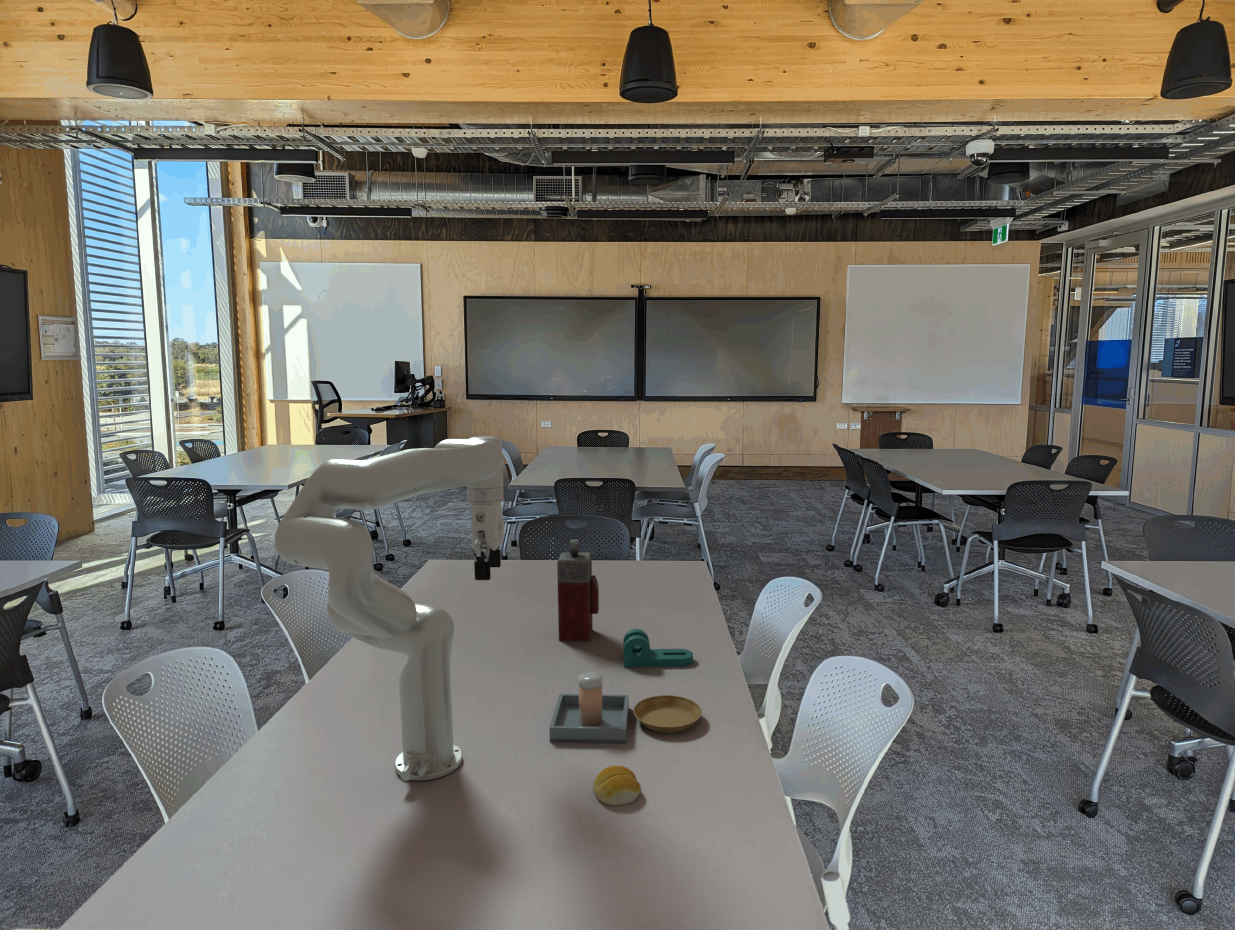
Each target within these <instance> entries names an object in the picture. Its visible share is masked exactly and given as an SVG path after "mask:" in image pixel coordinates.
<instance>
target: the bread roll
mask: <svg viewBox="0 0 1235 930" xmlns="http://www.w3.org/2000/svg"><path fill="white" fill-rule="evenodd" d="M592 788H593V792H594V793H595V796H596V798H597V799H598V800H599V801H600V802H601V803H603V804H606V805H609V806H625V805H628V804H631V803H634V801H636V799H637V798H638V796H640V794H641V791H642V789H641V784H640V782H639V781H638V780H637V776H636V773H634V772H633V771H632V770H631V769H630V768H629V767H626V766H624V765H610V766H609V765H608V766H607V767H605V768H603V769H602V770H601V771H600V772H599V773H598V774H597V775H596V777H595V779H594V781H593V787H592Z"/></svg>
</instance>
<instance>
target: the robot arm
mask: <svg viewBox="0 0 1235 930" xmlns="http://www.w3.org/2000/svg"><path fill="white" fill-rule="evenodd" d="M503 457H504V456H503V443H502V440H501V439H500V438H499V437H496V436H493V435H491V436H490V435H479V436H473V437H469V438H447V439H444V440H441V441H440V442H438V443H437V444H436V445H435V446H434V448H433V447H432V448H431V447H430V448H427V447H423V448H422V447H421V448H420V447H419V448H410V449H403V450H401V451H397V452H393V453H389V454H384V455H381V456H377V457H373V458H368V459H361V460H360V459H342V458H341V459H340V458H332V459H328V460H325V461H324V462H323V463H321V464H320V465H319V466H318V467H317V468H316V469H315V470H314V471H313V472H312V473H311V475H310V476H309V478H307V480H306V482H305V483H304V484H303V486H302V488H301V489H300V490H299V492H298V493H297V495H296V497H295V498H294V499H293V501H292V503H291V505H290V506H289V507H288V509H287V510H286V512H285V513H284V514H283V517H282V518H281V521H280V522H279V524H278V526H277V528H276V531H275V534H274V548H275V550H276V553H277V555H278V556H279V557H280V559H282V560H283V561H284V562H287V563H288V564H290V565H294V566H299V567H300V566H301V567H306V568H313V569H320V570H326V571H327V572H328V576H329V578H328V587H327V589H328V591H327V605H326V606H327V608H326V612H327V616H328V619H329V622H330V623H331V624H332V626H333V627H334V628H335V629H337V631H339V632H341V633H343V634H344V635H347V636H349V637H351V638H354V639H356V640H357V641H360V642H362V643H364V644H367V645H369V646H372V647H374V648H377V649H382V650H385V651H390V652H396V653H400V654H403V655H406V656H407V661H406V662H405V664H404V666H403V668H402V669H401V672H400V673H399V679H398V680H399V682H398V688H399V701H400V703H399V704H400V717H401V718H400V719H401V721H400V724H401V725H400V726H401V742H402V743H401V744H402V752H401V753H399V755H398V756H397V757H396V759H395V761H394V769H395V772H396V773H397V775H399V776H400V778H401V780H403V781H405V782H407V781H430V780H435V779H439V778H442V777H444V776H445V777H446V776H447V775H449V774H451V773H452V772H454V771H455V770H457V769H458V767H459V766H460V765H461V763H462V762H463V761H462V760H463V752H462V750H461V748H460V747H458V745H455V744H454V731H453V730H454V729H453V727H454V726H453V725H454V724H453V702H452V681H451V680H452V678H451V677H452V676H451V656H452V650H453V649H452V648H453V642H454V641H453V640H454V635H455V624H454V619H453V618H452V616H451V614H450V613H449V612H448V611H446V610H444V609H443V608H441V607H440V606H439V607H438V606H435V605H432V604H424V603H419V602H415V601H414V600H413V599H412V597H411V596H410V595H409V594H408V593H407V592H406V591H404V590H403V589H401V588H400V587H398V586H395V585H394V584H393V583H390V582H389V581H387V580H386V579H384V578H382V577H380V576H379V575H377V574H376V572H374V569H373V567H374V566H373V557H374V544H373V540H372V537H371V535H370V532H369V531H368V529H366V527H364V526H363V525H362V524H361V523H359V522H357V521H356V520H355V521H354V520H351V519H350V518H349V519H348V518H343V517H336V516H335V514H336V513H337V511H338V509H349V510H357V511H358V510H359V511H371V510H372V511H373V510H377V509H380V508H383V507H387V506H389V505H393V504H395V503H397V502H398V503H399V502H401V501H404V500H407V499H409V498H412V497H415V496H419V495H422V494H423V495H424V494H430V493H436V492H441V491H447V490H451V489H458V488H463V487H466V491H467V503H468V504H470V505H471V542H472V543H471V544H472V549H473V550H474V552H473V556H474V557H473V565H474V580H475V581H490V580H491V579H492V578H491V568H500V567H501V566H502V565H501V563H502V562H501V549H500V548H501V545H502V544H503V543H504V540H505V530H504V517H503V516H504V515H503V507H502V503H503V502H504V500H505V499H504V469H503V468H504V466H503V461H504V459H503ZM334 516H335V517H334Z"/></svg>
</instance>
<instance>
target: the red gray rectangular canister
mask: <svg viewBox="0 0 1235 930" xmlns="http://www.w3.org/2000/svg"><path fill="white" fill-rule="evenodd" d="M592 561H593V559H592V553H591V552H588V551H587V552H585V551H584V552H580V540H579V539H570V541H569V551H568V552H567V551H566V552H560V555H559V557H558V560H557V563H556V567H557V568H556V569H557V571H556V573H557V574H556V575H557V611H558V615H557V616H558V617H557V619H558V620H557V621H558V622H557V623H558V624H557V625H558V641H560V642H590V641H591V639H592V634H593V615H598V614H599V611H600V604H599V603H600V601H599V600H600V594H599V593H600V592H599V591H600V590H599V589H600V588H599V586H600V585H599V583H598V579H597V576H596V575H595V574H594V575H593V574H592V573H593V568H592V567H593V564H592V563H593V562H592Z"/></svg>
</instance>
